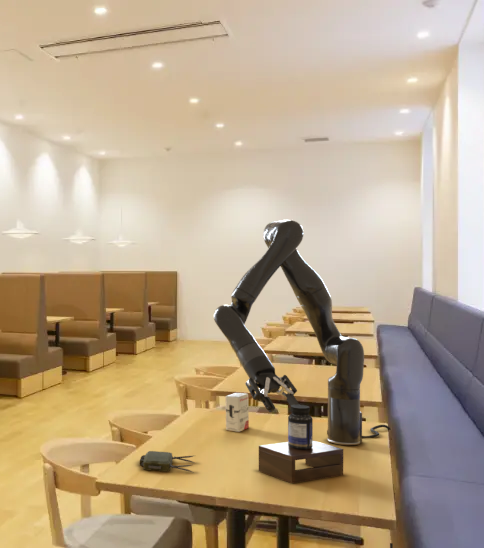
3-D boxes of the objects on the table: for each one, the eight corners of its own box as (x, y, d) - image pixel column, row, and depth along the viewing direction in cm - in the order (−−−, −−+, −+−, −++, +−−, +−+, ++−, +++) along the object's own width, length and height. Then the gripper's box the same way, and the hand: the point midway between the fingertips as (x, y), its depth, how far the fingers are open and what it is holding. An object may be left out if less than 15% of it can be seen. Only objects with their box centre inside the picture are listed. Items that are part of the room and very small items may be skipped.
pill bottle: (300, 443, 199) (300, 403, 199) (317, 448, 194) (317, 407, 193) (282, 445, 197) (283, 405, 197) (300, 451, 191) (300, 409, 191)
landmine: (143, 448, 211) (196, 451, 207) (143, 457, 211) (196, 461, 207) (137, 460, 198) (194, 465, 194) (137, 470, 198) (194, 474, 194)
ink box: (235, 425, 252) (235, 391, 252) (249, 427, 249) (249, 393, 249) (225, 430, 245) (225, 395, 245) (239, 432, 242) (239, 396, 242)
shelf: (308, 463, 204) (308, 439, 204) (343, 475, 193) (343, 449, 193) (258, 471, 197) (258, 445, 197) (291, 483, 186) (291, 456, 186)
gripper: (242, 355, 205) (272, 403, 195) (281, 353, 211) (311, 399, 201) (229, 371, 210) (257, 419, 200) (267, 369, 216) (296, 414, 206)
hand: (284, 409), depth 200 cm, fingers open, 8 cm apart
